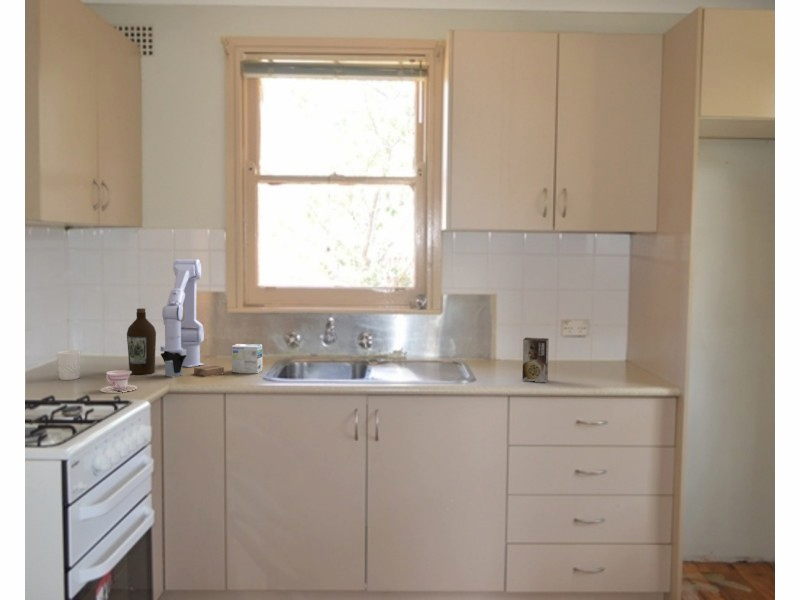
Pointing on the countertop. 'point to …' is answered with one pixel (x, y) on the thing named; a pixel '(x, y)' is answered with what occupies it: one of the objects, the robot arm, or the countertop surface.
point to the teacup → (117, 381)
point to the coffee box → (535, 359)
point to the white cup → (69, 364)
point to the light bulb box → (247, 358)
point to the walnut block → (208, 370)
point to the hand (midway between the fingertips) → (173, 371)
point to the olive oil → (141, 345)
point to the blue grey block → (171, 369)
